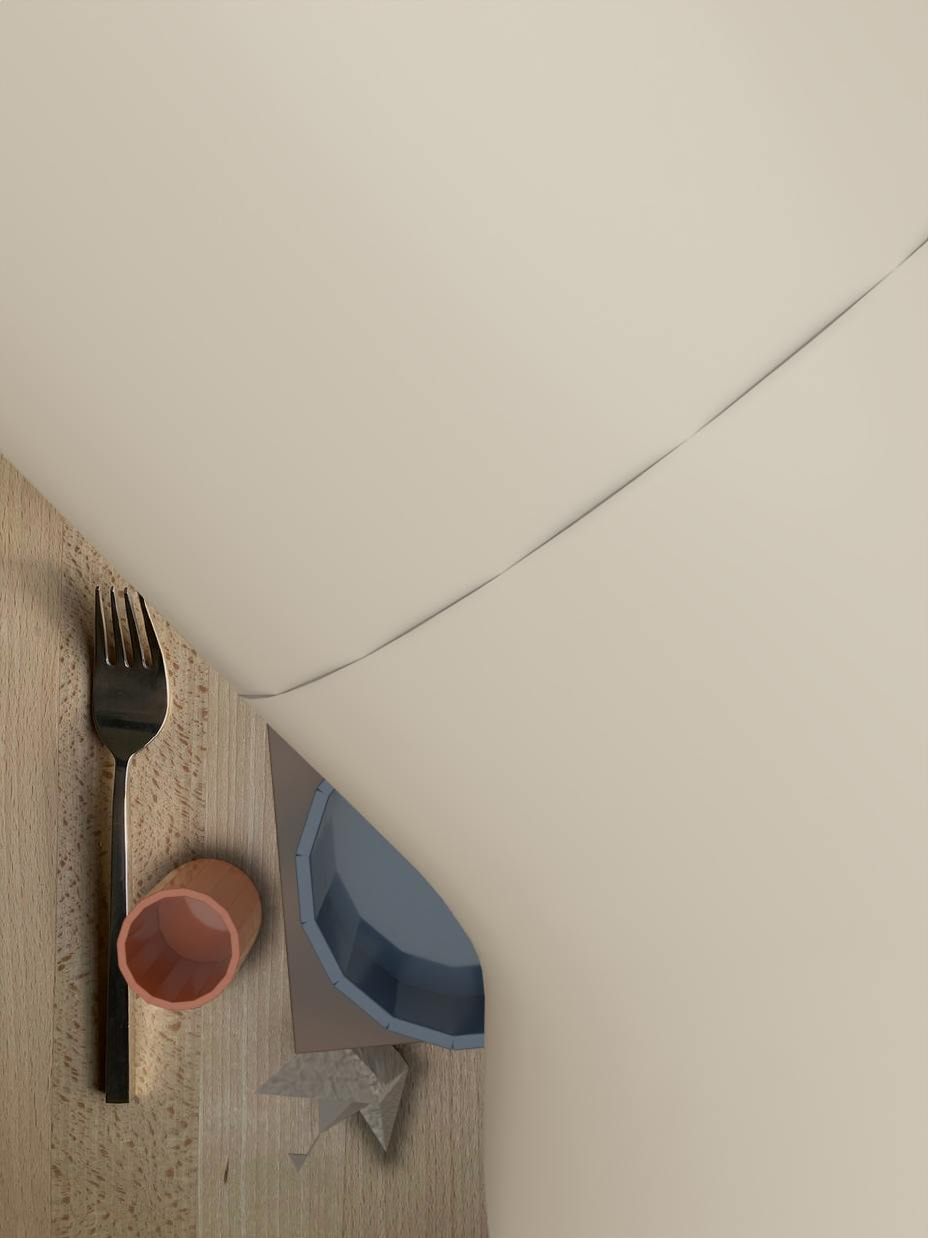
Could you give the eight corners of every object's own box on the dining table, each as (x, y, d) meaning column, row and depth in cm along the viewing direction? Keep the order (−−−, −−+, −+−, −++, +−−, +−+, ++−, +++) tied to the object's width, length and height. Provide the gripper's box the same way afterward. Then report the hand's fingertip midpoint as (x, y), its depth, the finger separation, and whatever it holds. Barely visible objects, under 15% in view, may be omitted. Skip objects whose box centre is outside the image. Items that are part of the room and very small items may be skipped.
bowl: (298, 704, 44) (282, 714, 40) (612, 677, 44) (631, 684, 40) (325, 1018, 44) (311, 1064, 40) (638, 990, 44) (660, 1032, 40)
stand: (326, 653, 68) (262, 674, 44) (572, 632, 68) (642, 642, 44) (347, 900, 68) (294, 1055, 44) (593, 878, 68) (673, 1020, 44)
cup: (148, 863, 68) (112, 894, 60) (257, 854, 68) (234, 883, 60) (157, 971, 68) (122, 1015, 60) (266, 961, 68) (244, 1004, 60)
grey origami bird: (468, 1087, 67) (391, 1227, 65) (411, 1044, 72) (338, 1173, 70) (339, 1017, 61) (248, 1171, 58) (287, 976, 66) (201, 1115, 63)
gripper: (1465, 960, 22) (1016, 809, 39) (883, 1565, 22) (689, 1146, 39) (1717, 1211, 22) (1159, 950, 39) (1141, 1816, 22) (833, 1287, 39)
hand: (925, 1048), depth 39 cm, fingers open, 9 cm apart
